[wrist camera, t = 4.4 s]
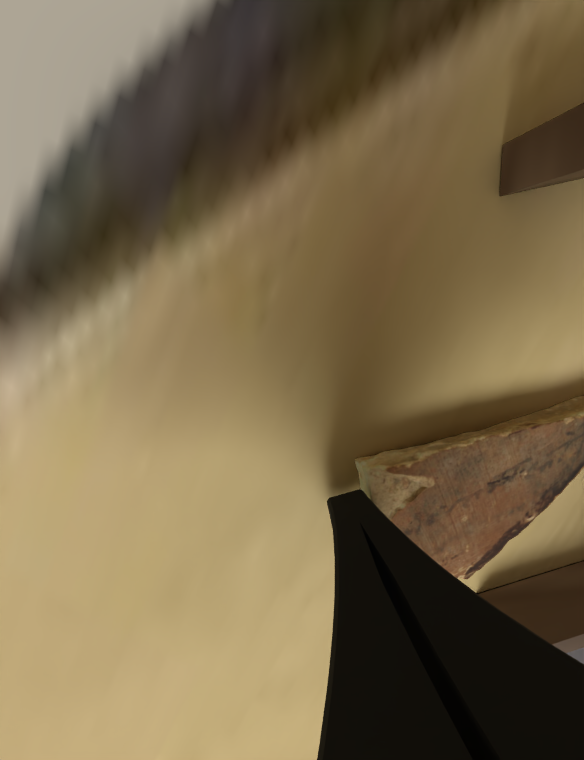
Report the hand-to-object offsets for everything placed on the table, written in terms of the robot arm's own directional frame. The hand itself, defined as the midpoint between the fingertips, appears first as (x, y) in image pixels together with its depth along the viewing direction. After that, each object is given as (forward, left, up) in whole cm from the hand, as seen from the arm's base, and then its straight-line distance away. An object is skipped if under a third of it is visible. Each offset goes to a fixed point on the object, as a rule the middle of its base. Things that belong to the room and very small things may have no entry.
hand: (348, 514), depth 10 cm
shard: (0, -5, -2) cm, 5 cm away
